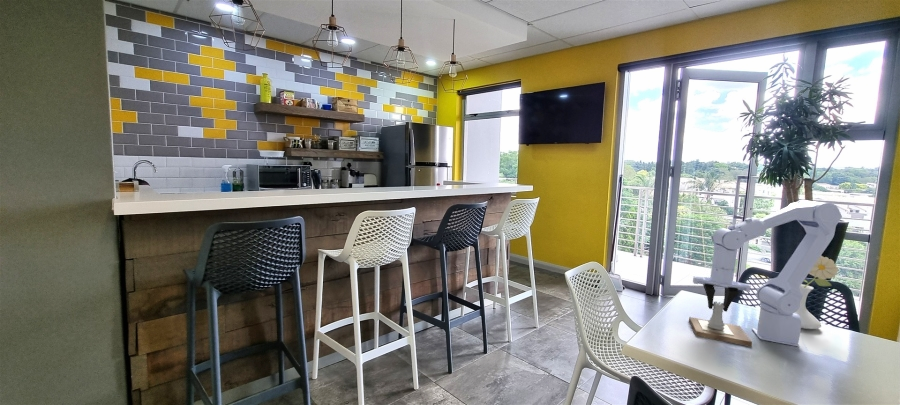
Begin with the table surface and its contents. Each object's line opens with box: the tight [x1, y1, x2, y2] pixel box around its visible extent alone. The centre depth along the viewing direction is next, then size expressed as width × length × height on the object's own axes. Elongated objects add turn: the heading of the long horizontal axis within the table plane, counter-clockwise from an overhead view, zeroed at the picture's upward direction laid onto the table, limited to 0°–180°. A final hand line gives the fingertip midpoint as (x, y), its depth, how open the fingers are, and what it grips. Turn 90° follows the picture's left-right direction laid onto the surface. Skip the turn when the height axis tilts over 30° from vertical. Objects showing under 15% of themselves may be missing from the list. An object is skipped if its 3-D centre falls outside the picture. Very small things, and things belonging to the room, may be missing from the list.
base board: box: [688, 316, 753, 348], centre depth 118 cm, size 14×12×2 cm
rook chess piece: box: [707, 301, 725, 330], centre depth 117 cm, size 4×4×8 cm
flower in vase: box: [795, 255, 839, 330], centre depth 125 cm, size 13×11×25 cm
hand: (717, 309), depth 118 cm, fingers closed on rook chess piece, 3 cm apart
